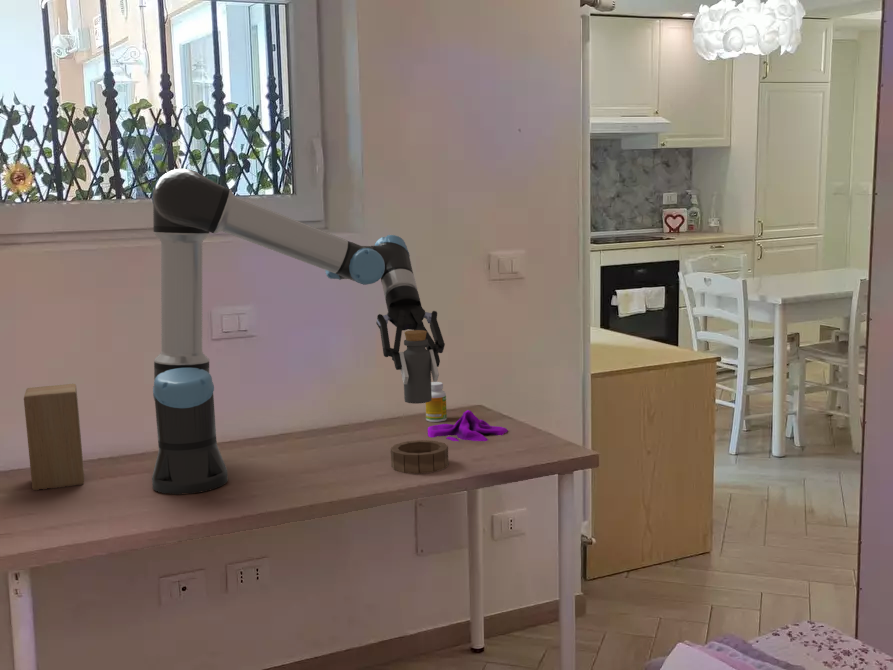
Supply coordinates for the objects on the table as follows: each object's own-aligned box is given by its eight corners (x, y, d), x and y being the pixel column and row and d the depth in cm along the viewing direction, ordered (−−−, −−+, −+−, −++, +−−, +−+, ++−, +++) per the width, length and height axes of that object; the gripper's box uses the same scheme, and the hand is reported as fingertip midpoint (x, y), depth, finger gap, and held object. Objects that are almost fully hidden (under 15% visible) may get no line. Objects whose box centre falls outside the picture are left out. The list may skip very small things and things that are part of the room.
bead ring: (398, 475, 201) (397, 457, 201) (387, 461, 213) (386, 443, 212) (454, 469, 204) (453, 451, 204) (439, 455, 216) (439, 438, 215)
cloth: (412, 434, 238) (411, 409, 237) (470, 421, 249) (470, 398, 248) (468, 451, 221) (467, 425, 220) (528, 437, 232) (528, 412, 231)
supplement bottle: (446, 422, 248) (445, 385, 246) (425, 422, 248) (424, 385, 246) (447, 417, 253) (445, 380, 252) (426, 417, 253) (425, 381, 252)
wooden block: (34, 478, 208) (25, 387, 205) (84, 472, 211) (76, 383, 208) (32, 491, 199) (23, 396, 196) (84, 484, 202) (75, 391, 199)
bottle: (399, 402, 205) (396, 332, 203) (413, 397, 210) (410, 329, 208) (423, 404, 203) (420, 334, 200) (436, 399, 208) (434, 330, 206)
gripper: (439, 302, 221) (461, 385, 208) (358, 307, 216) (375, 393, 203) (444, 281, 215) (467, 365, 202) (361, 286, 210) (379, 372, 197)
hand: (421, 379), depth 202 cm, fingers closed on bottle, 6 cm apart
